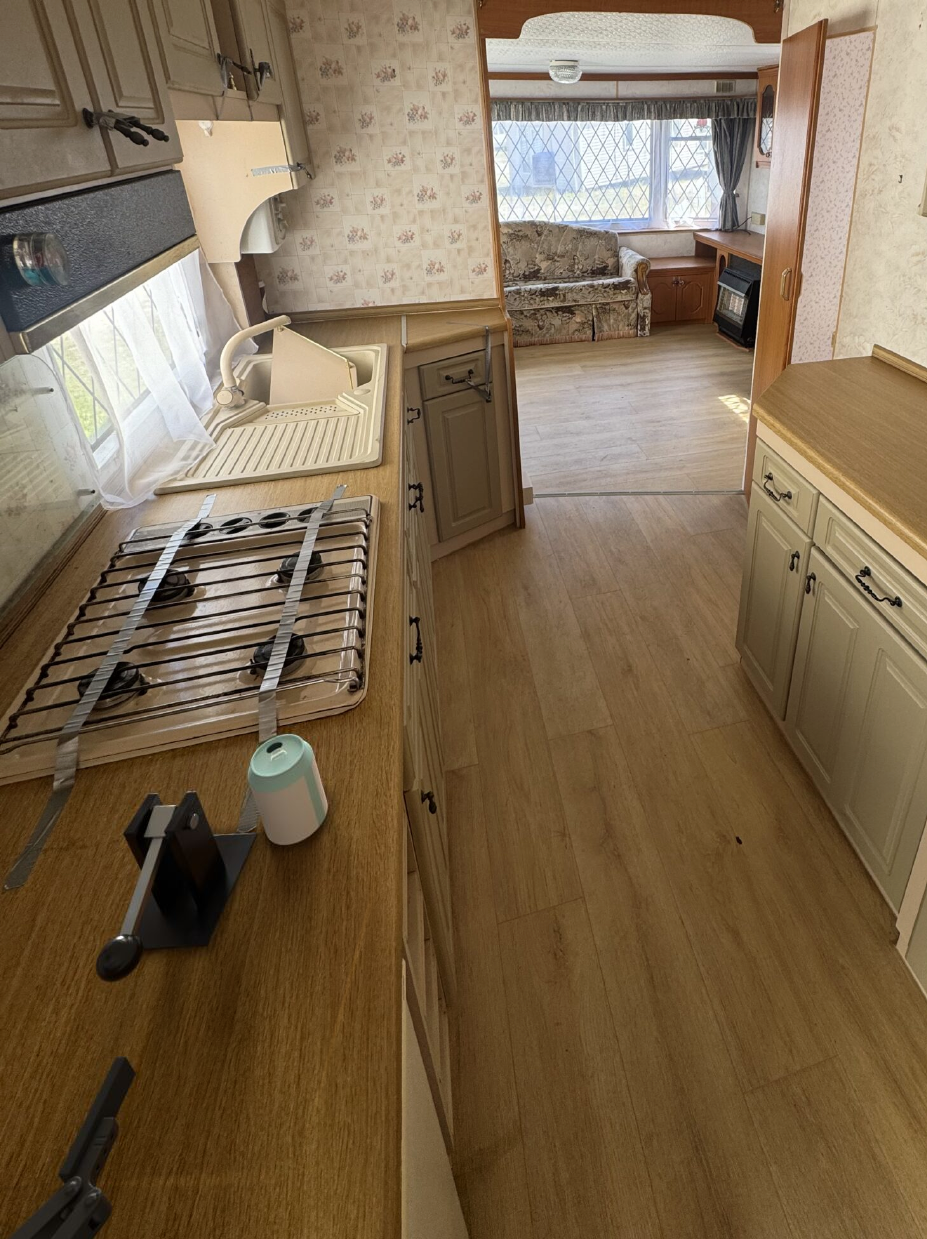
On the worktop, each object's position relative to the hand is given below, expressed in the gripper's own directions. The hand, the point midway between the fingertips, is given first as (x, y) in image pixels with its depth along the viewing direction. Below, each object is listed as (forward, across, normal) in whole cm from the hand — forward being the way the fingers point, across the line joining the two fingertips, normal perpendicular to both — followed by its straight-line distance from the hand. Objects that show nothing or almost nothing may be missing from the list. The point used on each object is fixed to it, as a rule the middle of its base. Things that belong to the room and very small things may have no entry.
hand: (39, 1070), depth 53 cm
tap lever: (+15, 0, -2) cm, 15 cm away
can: (+27, +8, -10) cm, 30 cm away
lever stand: (+19, 0, -10) cm, 21 cm away
